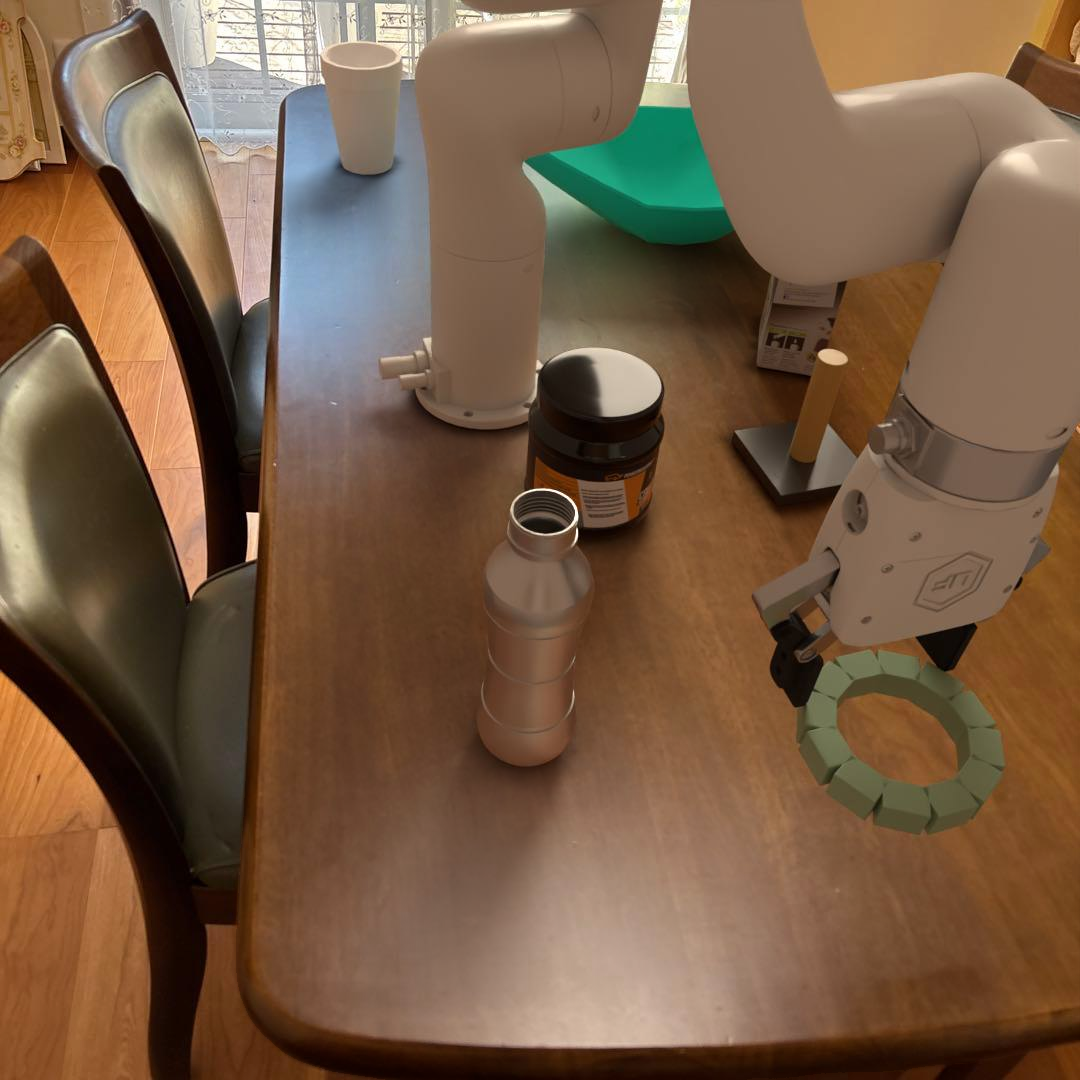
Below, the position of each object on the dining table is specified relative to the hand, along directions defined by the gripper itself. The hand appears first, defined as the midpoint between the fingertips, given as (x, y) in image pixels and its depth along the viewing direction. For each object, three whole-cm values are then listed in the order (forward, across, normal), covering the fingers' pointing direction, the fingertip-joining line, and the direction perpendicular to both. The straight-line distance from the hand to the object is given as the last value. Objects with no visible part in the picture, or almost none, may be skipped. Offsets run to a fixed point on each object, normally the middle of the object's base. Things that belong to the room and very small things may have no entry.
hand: (861, 669), depth 58 cm
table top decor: (+13, +20, +73) cm, 77 cm away
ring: (+2, 0, -4) cm, 5 cm away
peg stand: (+12, +15, +29) cm, 35 cm away
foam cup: (+13, -10, +96) cm, 97 cm away
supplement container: (+12, -5, +29) cm, 32 cm away
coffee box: (+12, +23, +46) cm, 53 cm away
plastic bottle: (+12, -17, +8) cm, 22 cm away
